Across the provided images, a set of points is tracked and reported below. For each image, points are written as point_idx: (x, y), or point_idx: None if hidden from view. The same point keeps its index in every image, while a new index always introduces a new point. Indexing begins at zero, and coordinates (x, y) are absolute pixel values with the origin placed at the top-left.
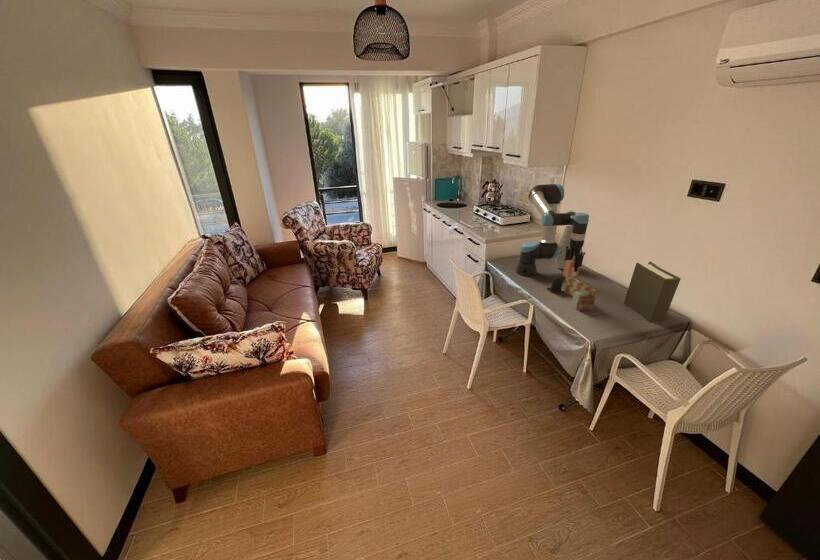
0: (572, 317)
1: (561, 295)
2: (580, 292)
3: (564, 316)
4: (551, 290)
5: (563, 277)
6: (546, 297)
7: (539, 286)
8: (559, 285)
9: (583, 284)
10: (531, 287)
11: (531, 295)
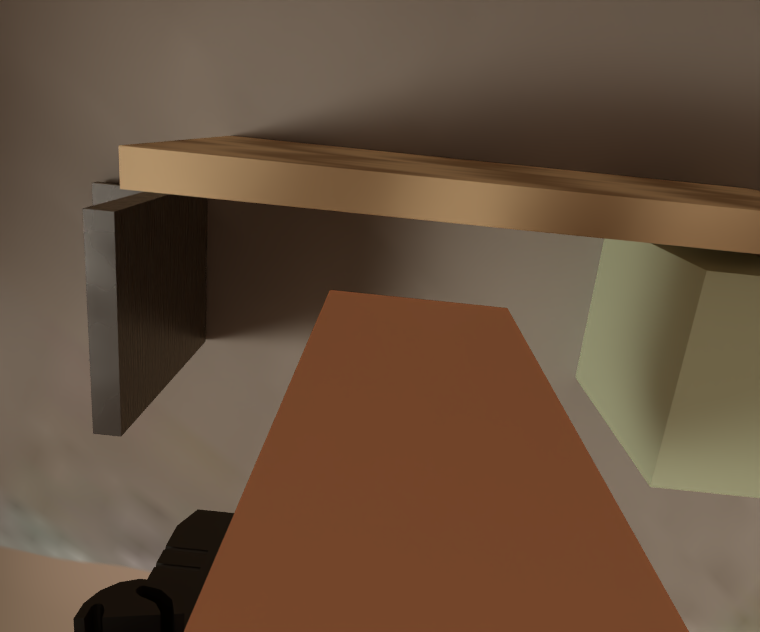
0: (742, 546)
1: (326, 288)
2: (726, 426)
3: (681, 593)
4: (196, 349)
5: (119, 210)
6: None
7: (12, 351)
8: (179, 242)
9: (646, 242)
10: (7, 451)
11: None
